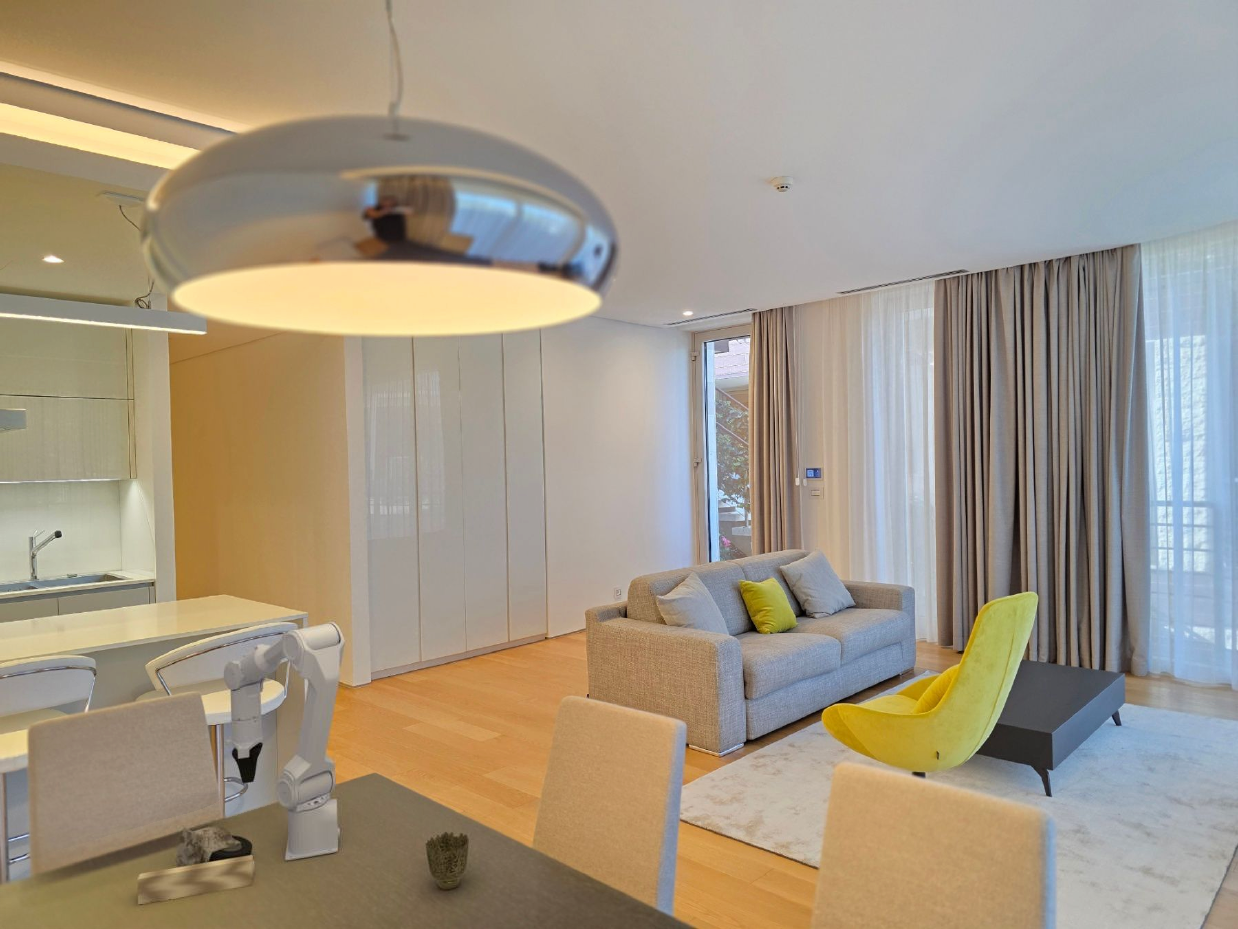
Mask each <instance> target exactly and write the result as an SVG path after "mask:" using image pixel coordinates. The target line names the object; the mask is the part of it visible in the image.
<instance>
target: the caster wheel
mask: <svg viewBox="0 0 1238 929" xmlns="http://www.w3.org/2000/svg"><path fill="white" fill-rule="evenodd" d="M178 844H179V845H178V848H177V852H176V855H175V860H174V861H175V862H176V863H177V864H178V865H180V867H184V866H190V865H195V864H201V863H207V862H213V861H219V860H225V859H231V858H237V857H243V856H249V855H252V850H253V844H252V842H251V841H250V840H248V839H247V838H245V837H244V836H243V837H242V836H239V835H232V834H231V832H230V831H229V830H228V829H227V828H225V827H224V826H221V825H213V826H209V827H205V828H201V829H197V830H193V831H192V830H190V829H189V828H187V827H186V826H183V829H182V833H181V836H180V840H179V843H178ZM175 862H174V863H175Z"/></svg>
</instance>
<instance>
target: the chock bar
mask: <svg viewBox="0 0 1238 929" xmlns="http://www.w3.org/2000/svg"><path fill="white" fill-rule="evenodd" d="M253 855H254V854H251V855H249V856H243V857H237V858H231V859H225V860H219V861H213V862H207V863H201V864H195V865H190V866H184V867H183V866H178V867H173V868H168V869H167V868H165V869H159V870H154V871H150V872H149V871H148V872H143V873H140V874H139V876H138V878H137V904H138V906H140V905H139V904H143V905H147V904H146V903H149V904H151V903H150V902H154V903H158V902H157V901H160V902H163V901H170V900H169V899H171V900H175V899H176V900H177V899H182V898H186V897H187V898H188V897H193V896H199V895H203V894H209V893H215V892H221V891H226V890H231V889H236V888H243V887H249V886H253V883H254V880H255V874H256V872H255V871H256V864H255V860H254V857H253ZM181 897H182V898H181Z"/></svg>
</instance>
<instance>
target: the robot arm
mask: <svg viewBox="0 0 1238 929" xmlns="http://www.w3.org/2000/svg"><path fill="white" fill-rule="evenodd" d="M345 644H346V640H345V637H344V634H343V632H342V630H341V628H340V627H339V626H338V624H336V623H335V622H333V621H329V622H325V623H324V624H317V625H313V626H307V627H303V628H299V629H290V630H288V631H287V632H283V633H282V634H281V637H280V638H279V639H278V640H276V642H273V644H271V645H269V644H264V643H261V644H257V645H255V646H254V647H253V648H254V650H253V651H251V652H249V653H245V654H243V657H242V658H241V659H239V660H238V659H237V660H235V661H234V660H230V661H228V662H227V663H226V665H225V666H224V669H223V679H224V683H225V685H226V687H227V688H228V689H229V690H230V712H231V715H230V718H231V721H230V722H231V738H226V740H225V745H232V746H233V749H232V750H231V756H232V758H233V759H234V762H235V763H236V766H237V768H238V772H239V775H240V779H241V782H242V784H247V783H254V781H255V779H256V778H255V777H256V772H257V765H258V758H259V757H260V754H261V752H262V749H263V746H264V744H263V742H262V741H263V739H264V734H263V730H262V728H263V726H262V724H263V723H262V698H261V697H262V695H261V693H262V692H263V690H264V682H265V680H266V677H267V676H268V675H270V674H272V673H273V672H275V671H276V670H278V668H279V667H280V666H281V664H282V663H281V662H282V660H284V659H287V661H288V662H289V664H290V666H292V668H293V670H294V671H295V672H296V674H297V675H298V677H299V678H301V679H303V680H304V679H305V680H307V681H308V683H307V684H308V685H307V689H306V696H305V701H304V707H303V711H302V712H303V713H302V718H301V724H300V729H299V735H298V741H297V746H296V753H295V755H294V756H293V757H292V758H291V759H290V761H289V762H287V764H286V765H284V766H283V768H282V771H281V776H280V777H279V778H278V780H277V783H276V787H275V794H276V798H277V801H278V803H279V804H280V806H281V807H283V808H284V809H286V810H287V811H286V812H287V813H286V815H287V818H286V820H287V843H286V850H285V854H284V856H285V857H284V860H285V861H294V860H299V859H305V858H310V857H317V856H322V855H329V854H335V853H338V851H339V838H340V837H341V834H340V833H341V832H340V831H341V830H340V827H339V825H338V823H339V822H338V799H337V798H330V797H331V793H332V792H333V791H334V790H335V787H336V781H337V780H336V779H337V778H336V773H335V768H336V763H335V761H334V760H333V759H332V758H331V757H330V756H329V755H327V748H328V743H329V742H328V741H329V738H330V733H331V726H332V722H333V714H334V710H335V703H336V699H337V693H338V688H339V682H340V677H341V676H340V672H341V671H340V670H341V669H340V668H341V666H342V662H343V657H344V652H345V651H344V650H345Z"/></svg>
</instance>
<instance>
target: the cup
mask: <svg viewBox="0 0 1238 929" xmlns="http://www.w3.org/2000/svg"><path fill="white" fill-rule="evenodd" d="M469 839H470V838H469V836H468V835H467V834H464V833H462V832H460V833H459V836H454V832H452V831H451V832H450V833H448V832H447V831H444V832H443V833H442V834H441V836H440V835H439V834H436V836H435V839H434V837H432V836H431V837H430V838H429V839H427V842H425V848H426V857H427V863H428V868H429V871H430V874H431V876H432V877H433V878H434V879H435V880H436V881H437V885H438V887H439V888H440V889H441V890H444V891H449V890H453V889H455V888H456V887H458V885H459V883H460V877H461V876H462V875H463V874H464V872H466V871H465V870H466V868H467V864H468V855H469V854H468V853H469V843H470V840H469Z"/></svg>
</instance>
